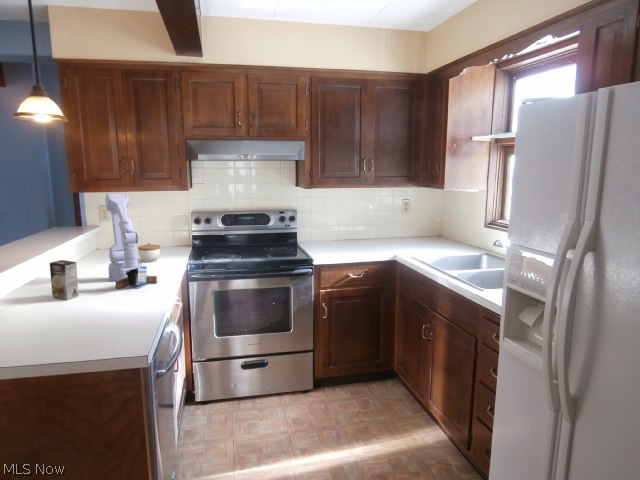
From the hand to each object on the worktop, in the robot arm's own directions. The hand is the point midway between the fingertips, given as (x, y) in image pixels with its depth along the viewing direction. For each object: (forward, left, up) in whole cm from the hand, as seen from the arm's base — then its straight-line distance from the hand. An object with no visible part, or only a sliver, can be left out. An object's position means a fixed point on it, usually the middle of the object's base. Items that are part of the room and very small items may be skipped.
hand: (132, 285), depth 207 cm
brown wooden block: (-1, +5, -2) cm, 5 cm away
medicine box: (0, +5, -1) cm, 5 cm away
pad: (-1, +5, -2) cm, 5 cm away
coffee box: (-21, -19, -2) cm, 28 cm away
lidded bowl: (-25, +55, -2) cm, 60 cm away
